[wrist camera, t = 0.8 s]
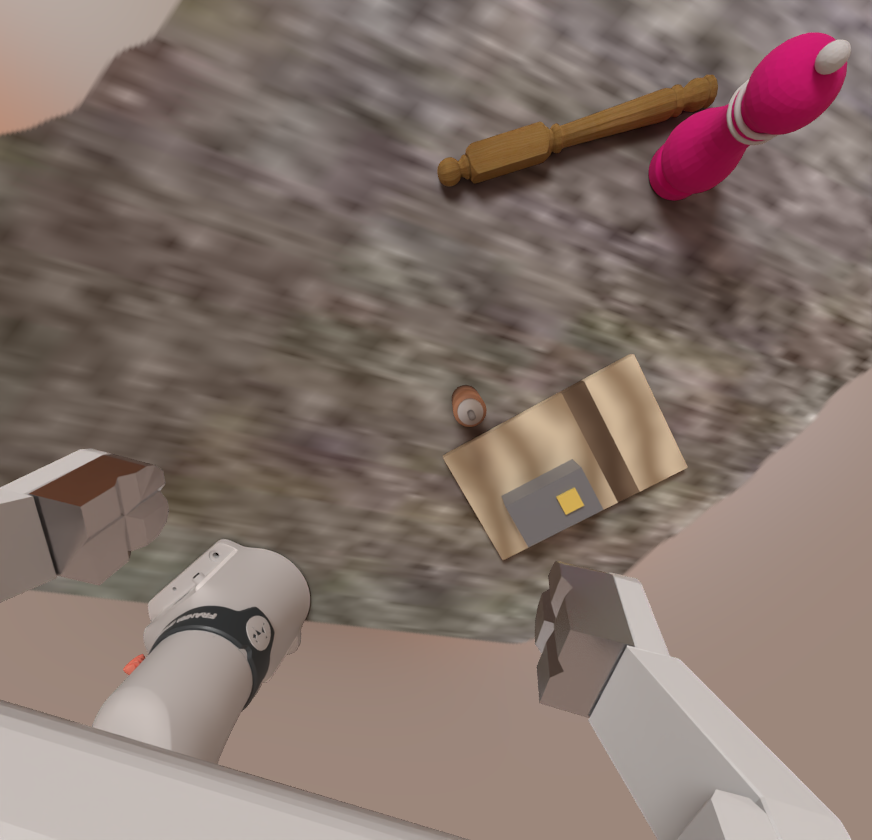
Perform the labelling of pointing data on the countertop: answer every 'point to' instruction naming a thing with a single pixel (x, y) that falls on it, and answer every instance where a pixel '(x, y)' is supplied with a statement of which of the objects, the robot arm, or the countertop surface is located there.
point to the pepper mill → (752, 115)
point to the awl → (468, 406)
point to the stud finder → (552, 502)
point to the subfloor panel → (570, 447)
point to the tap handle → (572, 132)
